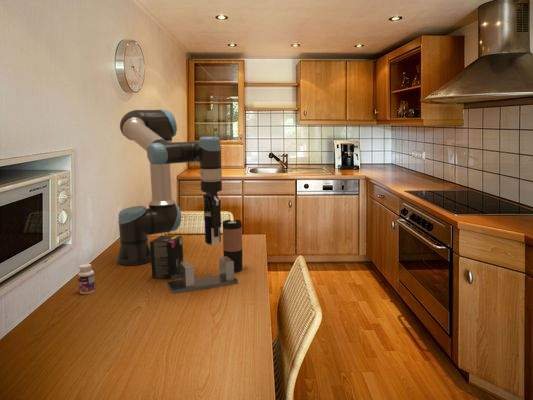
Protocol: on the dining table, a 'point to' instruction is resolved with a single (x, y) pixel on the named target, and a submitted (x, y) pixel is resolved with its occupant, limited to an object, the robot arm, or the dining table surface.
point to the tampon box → (166, 256)
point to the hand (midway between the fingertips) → (213, 242)
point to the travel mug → (233, 242)
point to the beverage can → (207, 228)
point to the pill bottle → (86, 279)
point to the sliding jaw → (185, 274)
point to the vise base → (208, 278)
